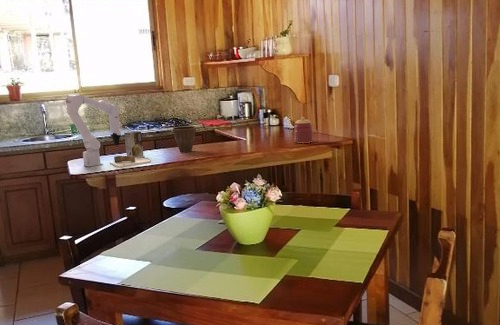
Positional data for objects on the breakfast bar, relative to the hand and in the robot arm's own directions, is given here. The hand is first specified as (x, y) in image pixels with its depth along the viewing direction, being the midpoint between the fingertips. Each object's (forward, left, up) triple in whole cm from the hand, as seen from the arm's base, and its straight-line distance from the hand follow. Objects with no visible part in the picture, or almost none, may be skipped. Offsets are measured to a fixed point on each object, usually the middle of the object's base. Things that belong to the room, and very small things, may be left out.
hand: (116, 145), depth 323 cm
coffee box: (+12, +2, -10) cm, 15 cm away
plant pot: (+44, -7, -10) cm, 46 cm away
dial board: (+2, -16, -9) cm, 19 cm away
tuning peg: (-1, -15, -8) cm, 17 cm away
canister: (+117, -41, -10) cm, 124 cm away
